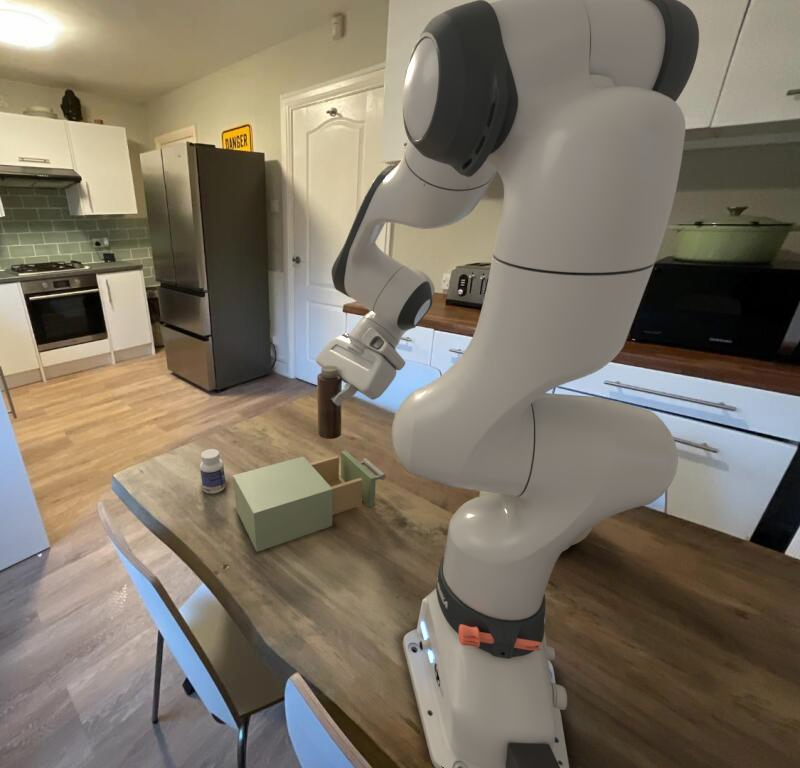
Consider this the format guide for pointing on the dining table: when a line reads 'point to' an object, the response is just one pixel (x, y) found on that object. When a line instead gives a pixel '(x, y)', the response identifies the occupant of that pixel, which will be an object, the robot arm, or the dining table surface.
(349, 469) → the drawer
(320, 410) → the pepper mill
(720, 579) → the dining table surface
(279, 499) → the cabinet
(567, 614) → the dining table surface
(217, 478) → the pill bottle
